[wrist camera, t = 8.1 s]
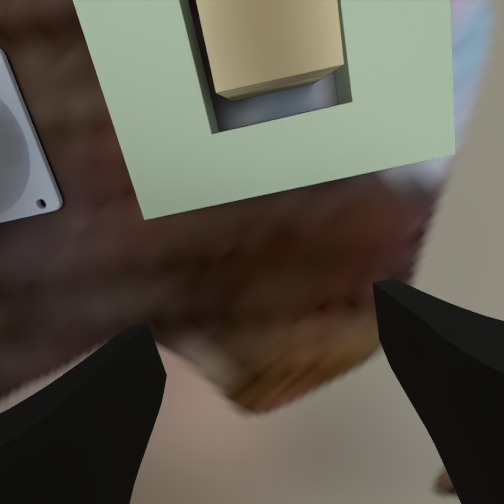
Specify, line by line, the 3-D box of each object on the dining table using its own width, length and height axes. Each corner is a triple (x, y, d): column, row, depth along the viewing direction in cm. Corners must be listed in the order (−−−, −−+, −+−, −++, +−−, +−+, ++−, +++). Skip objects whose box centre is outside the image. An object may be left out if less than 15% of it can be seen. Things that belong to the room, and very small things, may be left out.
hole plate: (161, 205, 20) (144, 220, 17) (79, -61, 16) (40, -99, 13) (426, 148, 19) (455, 154, 16) (408, -157, 15) (442, -223, 12)
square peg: (232, 101, 18) (215, 92, 12) (213, 8, 17) (182, -61, 10) (313, 83, 18) (343, 64, 11) (300, -13, 16) (326, -99, 10)
